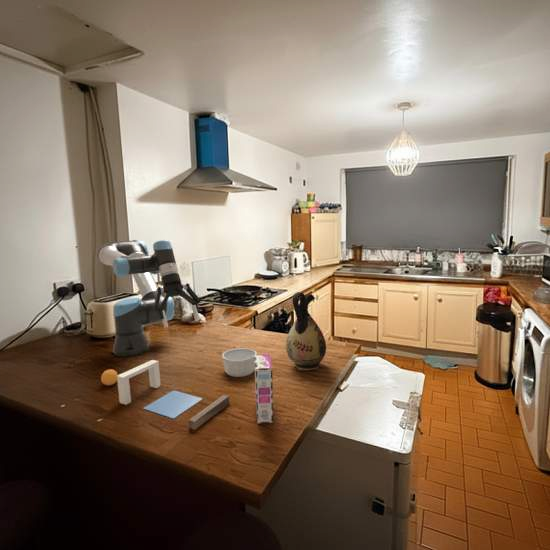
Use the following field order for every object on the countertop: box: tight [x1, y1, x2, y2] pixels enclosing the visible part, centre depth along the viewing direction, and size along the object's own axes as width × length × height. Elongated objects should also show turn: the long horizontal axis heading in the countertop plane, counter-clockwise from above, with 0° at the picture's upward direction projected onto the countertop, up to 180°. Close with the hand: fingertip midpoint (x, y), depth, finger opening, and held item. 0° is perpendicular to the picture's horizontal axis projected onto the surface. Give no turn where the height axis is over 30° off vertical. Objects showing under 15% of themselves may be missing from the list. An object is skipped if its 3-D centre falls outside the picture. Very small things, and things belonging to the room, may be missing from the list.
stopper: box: [188, 394, 230, 431], centre depth 106 cm, size 2×16×2 cm, turn 151°
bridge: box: [116, 359, 162, 406], centre depth 120 cm, size 3×14×9 cm, turn 151°
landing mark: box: [142, 389, 204, 420], centre depth 113 cm, size 13×13×1 cm
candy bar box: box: [254, 354, 274, 425], centre depth 105 cm, size 11×5×16 cm, turn 5°
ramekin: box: [221, 347, 258, 378], centre depth 136 cm, size 13×13×7 cm
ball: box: [100, 368, 119, 386], centre depth 128 cm, size 6×6×6 cm
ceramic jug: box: [285, 291, 327, 371], centre depth 136 cm, size 17×15×30 cm
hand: (182, 323), depth 146 cm, fingers open, 13 cm apart
